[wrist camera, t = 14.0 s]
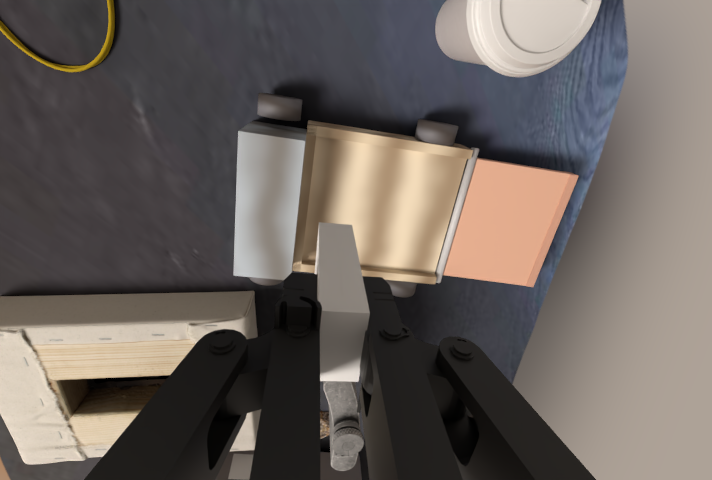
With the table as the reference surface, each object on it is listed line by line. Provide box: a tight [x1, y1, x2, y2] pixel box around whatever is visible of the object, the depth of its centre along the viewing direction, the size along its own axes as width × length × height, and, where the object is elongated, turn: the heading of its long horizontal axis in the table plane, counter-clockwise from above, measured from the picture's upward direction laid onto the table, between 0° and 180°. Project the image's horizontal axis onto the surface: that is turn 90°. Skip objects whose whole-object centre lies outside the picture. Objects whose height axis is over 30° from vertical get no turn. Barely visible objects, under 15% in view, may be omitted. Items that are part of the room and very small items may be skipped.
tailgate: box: [435, 147, 579, 287], centre depth 45 cm, size 2×17×13 cm
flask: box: [323, 381, 364, 471], centre depth 45 cm, size 4×14×18 cm, turn 2°
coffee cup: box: [435, 0, 601, 77], centre depth 31 cm, size 10×10×15 cm
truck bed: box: [234, 93, 473, 297], centre depth 41 cm, size 24×21×8 cm
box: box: [0, 291, 261, 464], centre depth 49 cm, size 23×8×32 cm
